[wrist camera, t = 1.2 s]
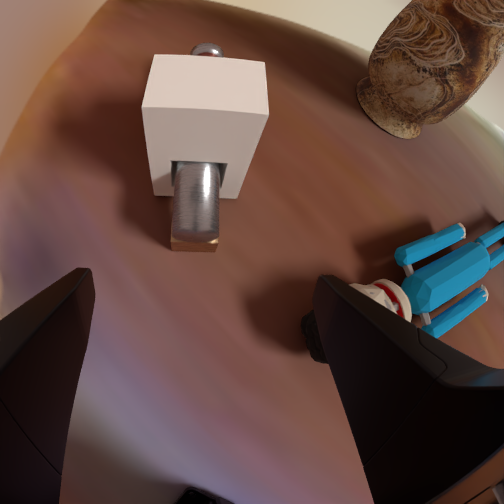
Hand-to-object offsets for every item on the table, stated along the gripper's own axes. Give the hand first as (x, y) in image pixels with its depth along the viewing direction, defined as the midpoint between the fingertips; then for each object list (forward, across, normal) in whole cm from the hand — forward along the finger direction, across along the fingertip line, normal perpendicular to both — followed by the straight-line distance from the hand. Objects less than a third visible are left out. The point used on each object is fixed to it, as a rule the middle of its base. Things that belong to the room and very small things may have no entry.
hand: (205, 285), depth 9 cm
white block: (+16, 0, +2) cm, 16 cm away
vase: (+25, -20, -6) cm, 32 cm away
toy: (+11, -21, +7) cm, 25 cm away
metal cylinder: (+18, 0, 0) cm, 18 cm away
